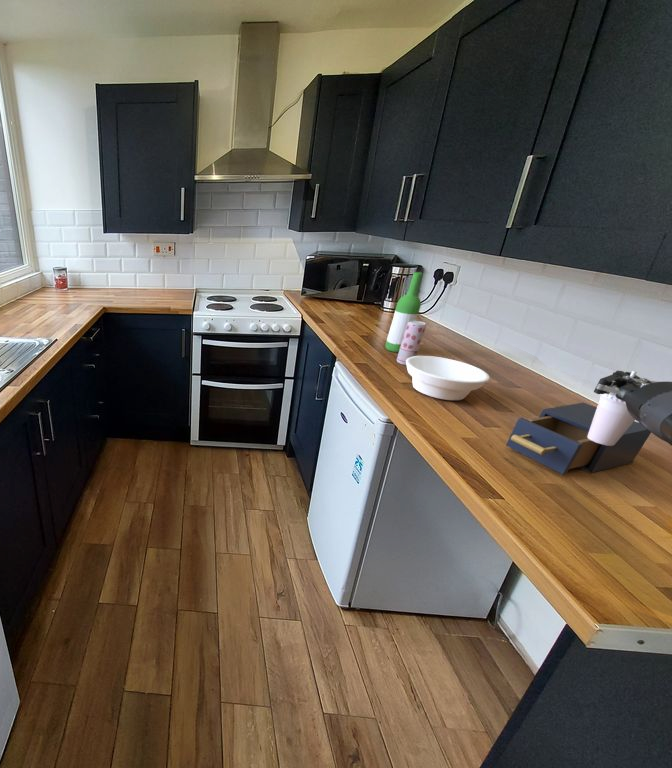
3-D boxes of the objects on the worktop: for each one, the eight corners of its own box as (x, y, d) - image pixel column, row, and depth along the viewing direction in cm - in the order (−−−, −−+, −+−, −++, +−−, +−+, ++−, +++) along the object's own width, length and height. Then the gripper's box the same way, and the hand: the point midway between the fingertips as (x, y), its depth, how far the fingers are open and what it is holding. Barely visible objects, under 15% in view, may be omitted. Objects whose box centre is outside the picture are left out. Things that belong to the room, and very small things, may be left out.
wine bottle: (407, 354, 154) (432, 275, 141) (384, 351, 156) (407, 273, 144) (405, 349, 160) (429, 272, 148) (384, 345, 163) (405, 270, 151)
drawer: (547, 478, 82) (563, 448, 79) (490, 448, 92) (503, 420, 89) (603, 464, 88) (620, 436, 85) (544, 437, 97) (557, 411, 94)
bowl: (389, 375, 133) (396, 352, 130) (459, 382, 130) (468, 359, 126) (412, 403, 115) (421, 377, 111) (494, 412, 111) (506, 385, 108)
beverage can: (395, 358, 149) (407, 319, 143) (413, 361, 147) (425, 321, 141) (396, 363, 144) (408, 323, 138) (414, 366, 142) (427, 325, 136)
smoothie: (575, 428, 80) (609, 363, 74) (620, 439, 76) (660, 372, 71) (579, 441, 75) (617, 372, 70) (628, 454, 72) (672, 382, 66)
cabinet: (591, 473, 86) (612, 437, 82) (526, 442, 97) (543, 409, 93) (632, 462, 90) (654, 428, 87) (566, 434, 101) (583, 402, 98)
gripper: (761, 402, 55) (683, 364, 70) (629, 382, 61) (582, 350, 75) (727, 448, 58) (659, 402, 73) (605, 425, 64) (564, 386, 78)
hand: (620, 376), depth 74 cm, fingers closed on smoothie, 1 cm apart
